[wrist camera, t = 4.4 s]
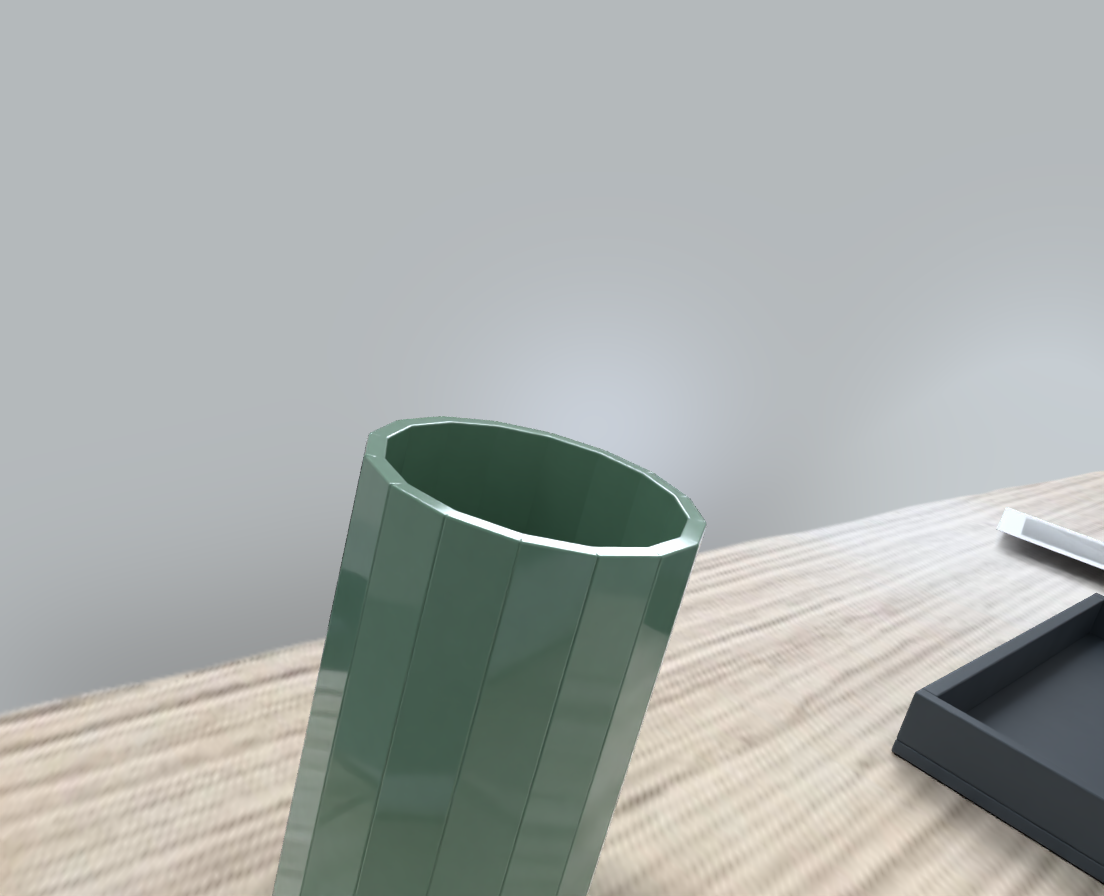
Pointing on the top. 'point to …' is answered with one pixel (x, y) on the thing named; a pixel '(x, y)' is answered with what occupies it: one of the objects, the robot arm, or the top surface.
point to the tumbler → (484, 663)
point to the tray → (1025, 733)
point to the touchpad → (1053, 537)
